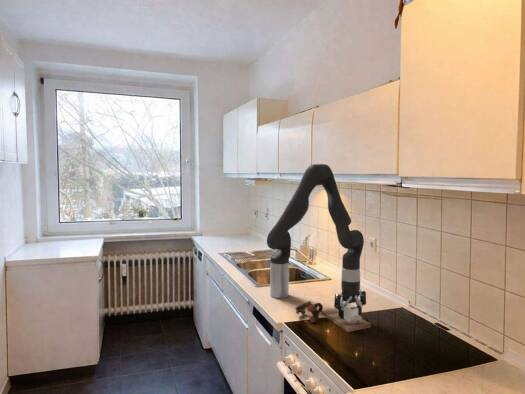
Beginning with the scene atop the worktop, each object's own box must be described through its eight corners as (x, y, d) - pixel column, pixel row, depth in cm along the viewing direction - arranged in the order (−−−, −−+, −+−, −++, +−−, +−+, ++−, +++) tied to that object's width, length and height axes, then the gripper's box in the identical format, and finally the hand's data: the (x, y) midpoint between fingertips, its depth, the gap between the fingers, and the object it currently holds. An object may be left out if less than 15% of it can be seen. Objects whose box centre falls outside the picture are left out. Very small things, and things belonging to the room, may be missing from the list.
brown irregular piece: (306, 326, 156) (297, 307, 158) (298, 327, 164) (290, 309, 166) (330, 314, 160) (321, 295, 162) (321, 316, 168) (313, 298, 171)
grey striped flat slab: (321, 313, 167) (321, 310, 167) (341, 310, 171) (341, 307, 171) (348, 331, 149) (348, 328, 149) (370, 327, 153) (370, 323, 153)
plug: (340, 316, 161) (340, 303, 160) (347, 315, 162) (347, 302, 162) (356, 325, 151) (356, 312, 150) (363, 324, 152) (363, 311, 152)
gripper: (359, 274, 162) (358, 311, 164) (331, 278, 157) (330, 316, 158) (370, 279, 155) (369, 317, 157) (341, 283, 150) (340, 322, 151)
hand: (350, 316), depth 157 cm, fingers open, 8 cm apart
